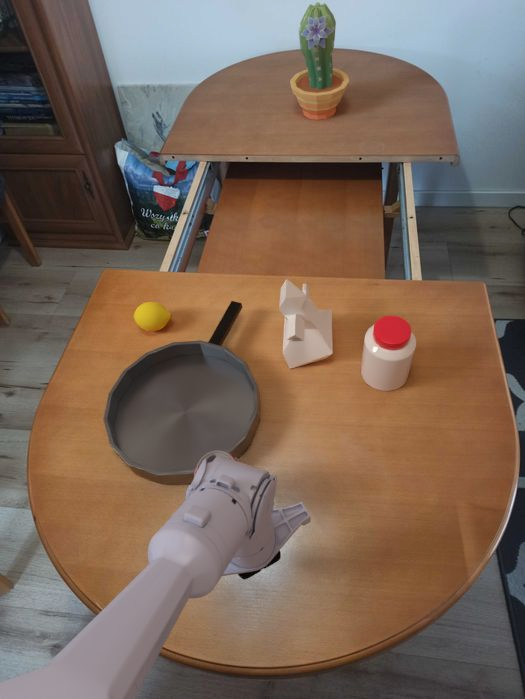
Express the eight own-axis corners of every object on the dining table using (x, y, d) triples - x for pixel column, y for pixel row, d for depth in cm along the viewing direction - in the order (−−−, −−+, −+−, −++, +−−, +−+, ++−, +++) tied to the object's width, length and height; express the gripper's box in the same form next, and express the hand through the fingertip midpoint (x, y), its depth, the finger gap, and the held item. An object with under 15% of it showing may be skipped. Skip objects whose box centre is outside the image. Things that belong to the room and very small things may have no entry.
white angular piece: (331, 311, 91) (333, 255, 80) (332, 375, 82) (334, 322, 71) (285, 311, 92) (281, 256, 81) (281, 374, 83) (276, 322, 72)
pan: (222, 507, 70) (218, 498, 67) (83, 455, 77) (74, 444, 74) (300, 330, 89) (299, 317, 86) (182, 301, 95) (178, 287, 92)
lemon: (134, 337, 91) (125, 318, 87) (140, 314, 94) (132, 295, 90) (171, 337, 90) (164, 317, 86) (176, 314, 94) (170, 295, 89)
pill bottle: (356, 385, 81) (361, 344, 72) (364, 348, 85) (370, 306, 76) (404, 395, 79) (416, 354, 70) (410, 357, 83) (422, 314, 74)
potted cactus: (279, 116, 134) (272, 10, 114) (313, 91, 141) (312, -13, 121) (325, 132, 127) (327, 23, 107) (359, 105, 134) (367, -2, 114)
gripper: (287, 463, 55) (291, 506, 66) (166, 528, 52) (191, 562, 62) (321, 519, 51) (319, 555, 62) (191, 593, 48) (214, 617, 58)
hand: (256, 562), depth 62 cm, fingers closed
